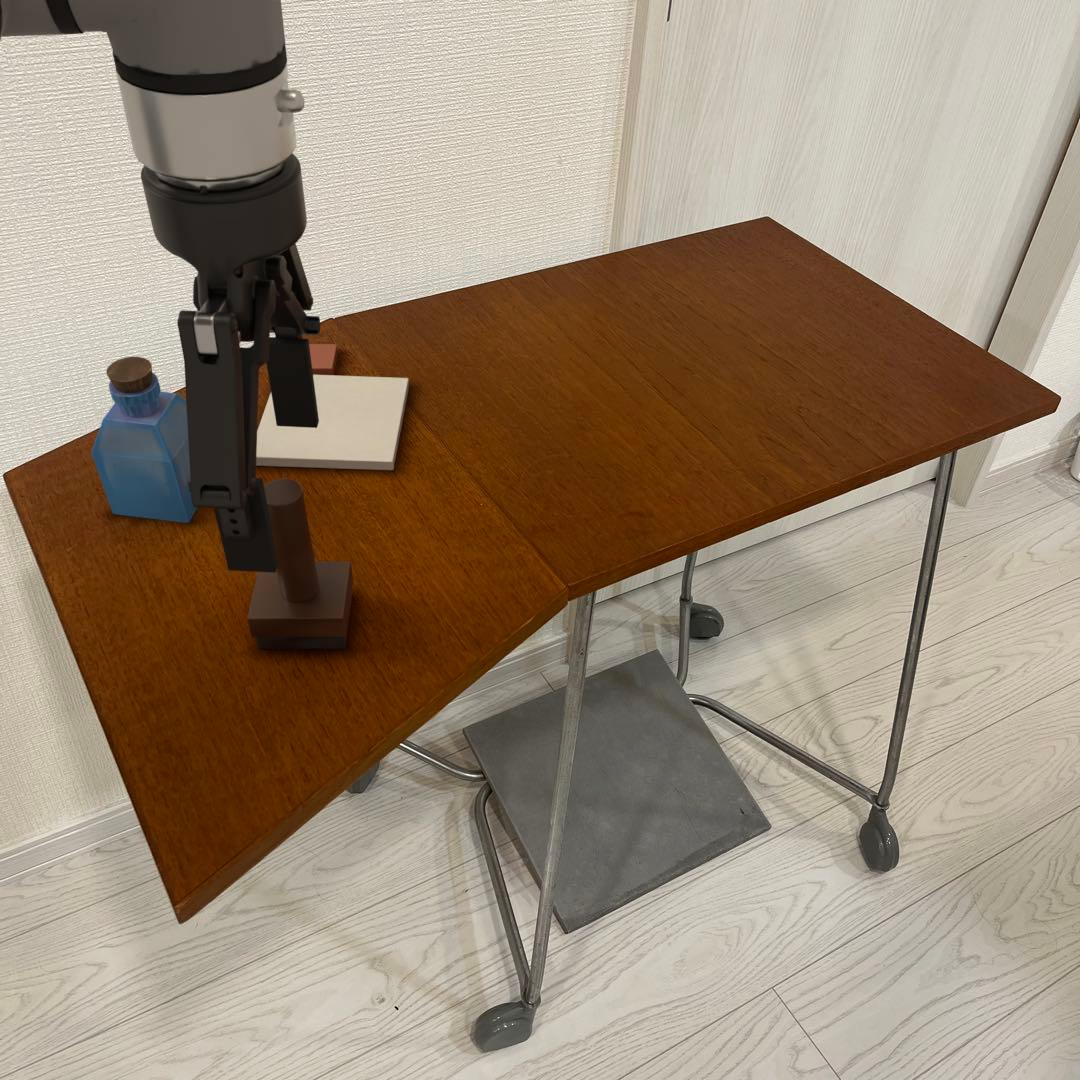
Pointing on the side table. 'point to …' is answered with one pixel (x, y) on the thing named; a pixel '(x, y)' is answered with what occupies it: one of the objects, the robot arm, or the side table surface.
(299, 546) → the stamp
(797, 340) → the side table surface
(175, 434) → the perfume bottle
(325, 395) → the tile
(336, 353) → the reddish-brown flat block
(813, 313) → the side table surface
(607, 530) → the side table surface
